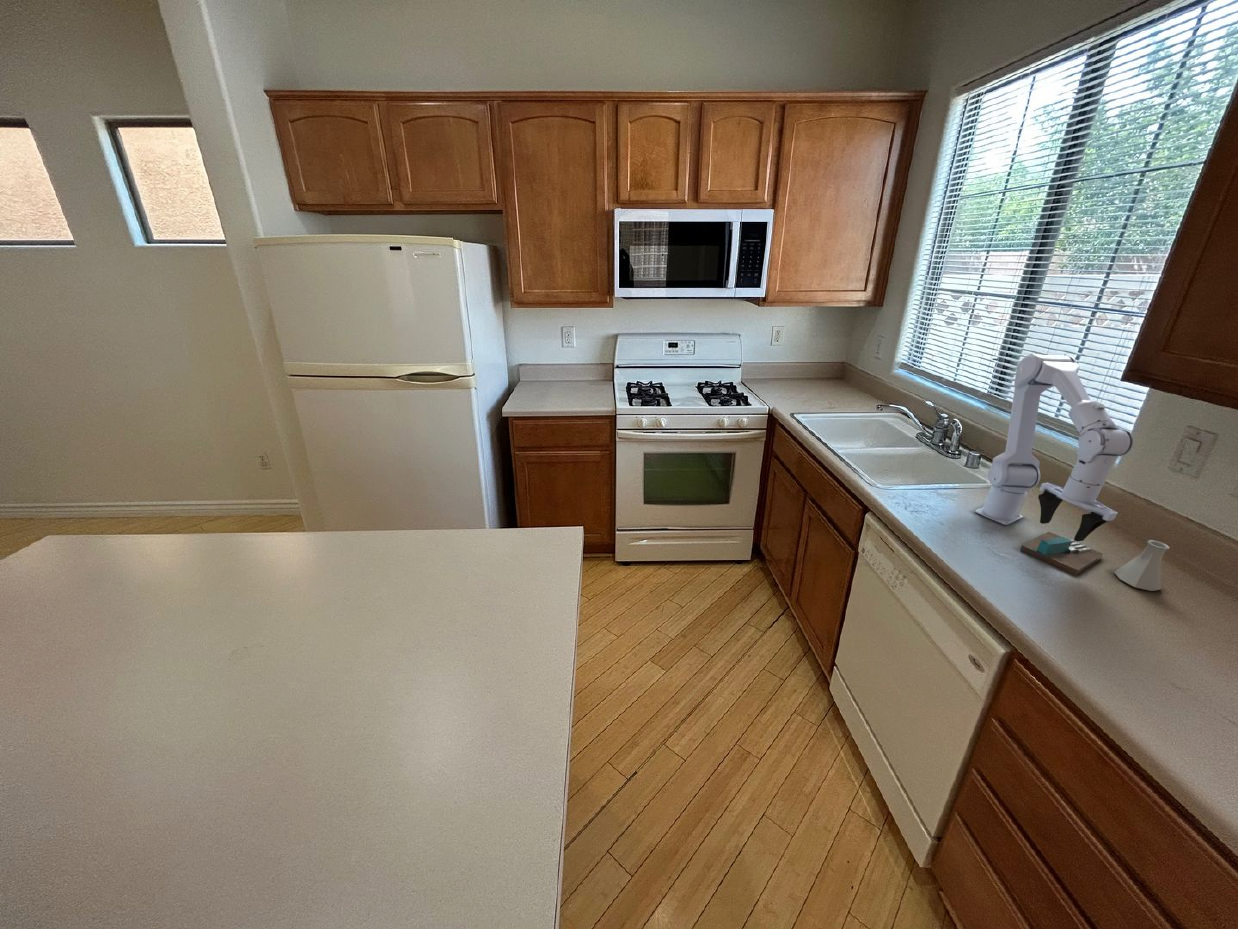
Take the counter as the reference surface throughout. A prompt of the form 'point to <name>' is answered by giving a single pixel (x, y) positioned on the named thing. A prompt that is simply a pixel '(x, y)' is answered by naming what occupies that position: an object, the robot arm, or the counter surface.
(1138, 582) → the flask
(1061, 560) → the cutting board
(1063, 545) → the fork
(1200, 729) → the counter surface
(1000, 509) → the robot arm
